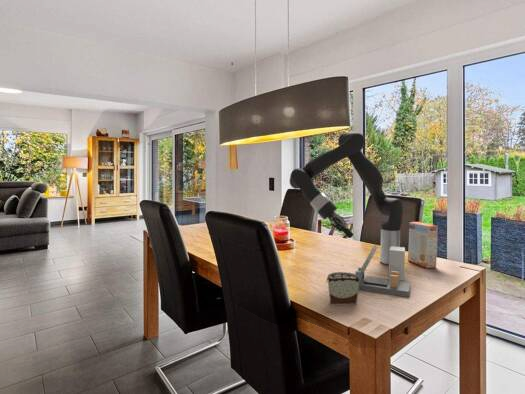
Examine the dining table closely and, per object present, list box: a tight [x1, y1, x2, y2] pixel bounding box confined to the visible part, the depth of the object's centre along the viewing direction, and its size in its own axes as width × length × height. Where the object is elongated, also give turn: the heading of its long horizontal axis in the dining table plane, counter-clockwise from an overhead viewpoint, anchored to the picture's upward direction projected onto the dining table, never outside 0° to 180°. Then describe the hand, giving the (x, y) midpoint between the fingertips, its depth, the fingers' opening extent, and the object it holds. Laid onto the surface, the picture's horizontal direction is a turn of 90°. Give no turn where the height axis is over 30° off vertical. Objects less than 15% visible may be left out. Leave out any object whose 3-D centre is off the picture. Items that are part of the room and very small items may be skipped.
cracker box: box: [407, 221, 439, 269], centre depth 169 cm, size 14×6×21 cm, turn 13°
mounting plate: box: [355, 266, 411, 298], centre depth 137 cm, size 12×26×6 cm, turn 64°
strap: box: [360, 244, 379, 276], centre depth 138 cm, size 4×2×15 cm, turn 154°
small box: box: [388, 246, 406, 281], centre depth 149 cm, size 8×6×13 cm
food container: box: [326, 271, 361, 306], centre depth 122 cm, size 12×6×10 cm, turn 92°
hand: (351, 236), depth 140 cm, fingers closed
